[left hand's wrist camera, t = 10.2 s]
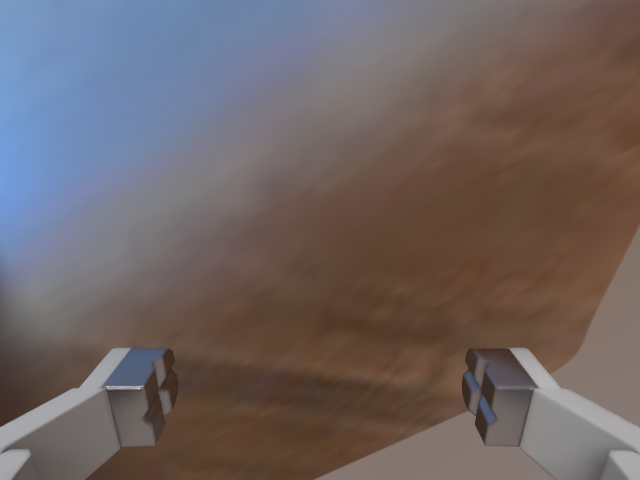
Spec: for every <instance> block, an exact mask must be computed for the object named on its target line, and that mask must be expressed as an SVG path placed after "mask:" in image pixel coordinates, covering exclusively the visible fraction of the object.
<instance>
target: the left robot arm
mask: <svg viewBox="0 0 640 480" xmlns="http://www.w3.org/2000/svg"><path fill="white" fill-rule="evenodd" d="M174 362H175V360H174V355H173V351H172V350H171V349H170V348H114V349H112V350H111V351H110V352H109V353H108V354H107V355H106V357H105V358H104V359H103V360H102V361H101V362H100V364H99V365H98V366H97V367H96V368H95V370H94V371H93V372H92V373H91V374H90V376H89V377H88V378H87V379H86V380H85V382H84V383H83V384H82V385H81V386H80V387H79V388H73V389H71V390H69V391H67V392H65V393H63V394H61V395H60V396H58V397H56V398H54V399H52V400H50V401H48V402H46V403H45V404H43V405H41V406H39V407H37V408H35V409H33V410H31V411H30V412H28V413H26V414H24V415H22V416H20V417H18V418H17V419H15V420H13V421H11V422H9V423H7V424H5V425H3V426H2V427H0V480H85V479H86V478H88V477H89V476H90V475H91V474H92V473H93V472H94V471H96V470H97V469H98V468H99V467H100V466H101V465H102V464H104V463H105V462H106V461H107V460H108V459H109V458H110V457H112V456H113V455H114V454H115V453H116V452H117V451H118V450H120V447H128V446H155V444H156V442H157V440H158V438H159V436H160V434H161V432H162V430H163V428H164V425H165V421H164V416H165V415H166V414H168V413H169V412H170V411H172V409H173V406H174V404H175V402H176V397H177V393H178V379H177V374H176V373H175V372H174V371H173V370H172V369H171V367H172V365H173V364H174ZM465 362H466V364H467V365H468V367H469V369H468V370H467V371H466V372H465V373H464V374H463V379H462V392H463V398H464V401H465V404H466V406H467V409H468V411H470V412H471V413H472V414H474V415H475V416H476V421H475V426H476V428H477V430H478V432H479V434H480V436H481V438H482V440H483V442H484V444H485V446H512V447H520V449H521V450H522V451H523V452H524V453H525V454H526V455H527V456H529V457H530V458H531V459H532V460H533V461H534V462H536V463H537V464H538V465H539V466H540V467H541V468H542V469H544V470H545V471H546V472H547V473H548V474H549V475H550V476H551V477H553V478H554V479H555V480H640V427H638V426H636V425H634V424H633V423H631V422H629V421H627V420H625V419H623V418H621V417H620V416H618V415H616V414H614V413H612V412H610V411H608V410H606V409H605V408H603V407H601V406H599V405H597V404H595V403H593V402H592V401H590V400H588V399H586V398H584V397H582V396H580V395H579V394H577V393H575V392H573V391H571V390H569V389H567V388H560V386H559V385H558V384H557V383H556V382H555V380H554V379H553V378H552V377H551V376H550V374H549V373H548V372H547V371H546V370H545V368H544V367H543V366H542V365H541V364H540V363H539V361H538V360H537V359H536V358H535V357H534V355H533V354H532V353H531V352H530V351H529V350H528V349H526V348H524V347H522V348H505V349H469V350H468V352H467V354H466V360H465Z"/></svg>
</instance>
